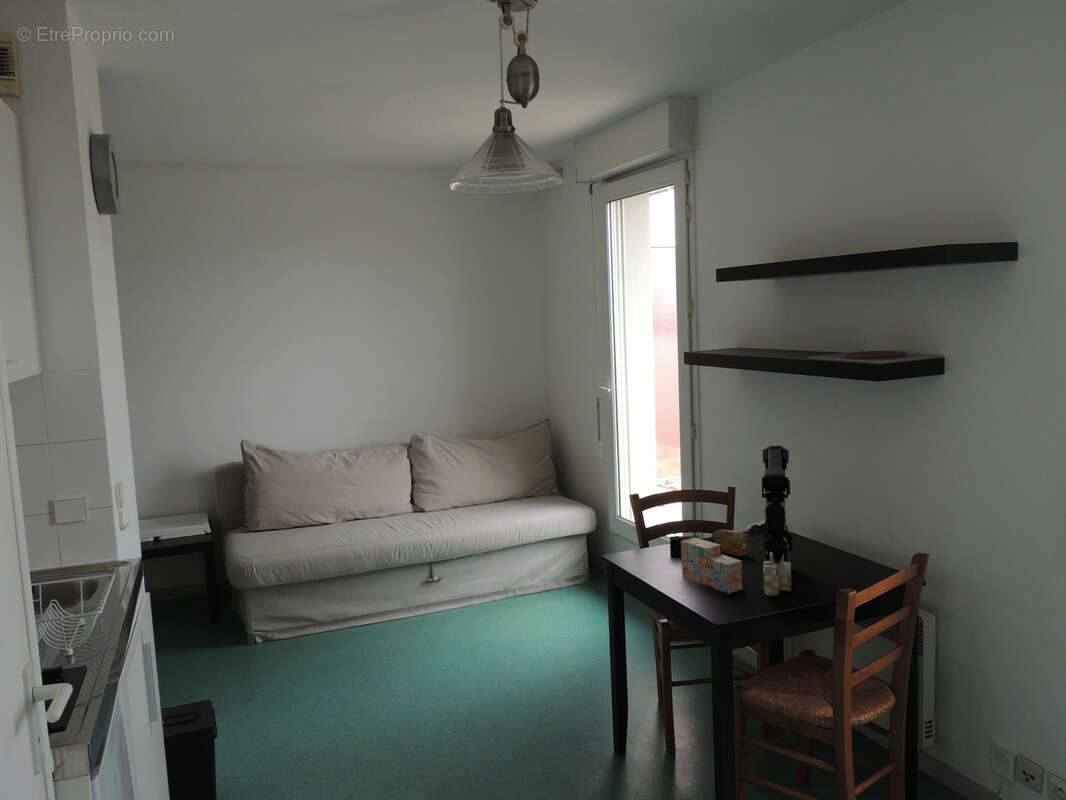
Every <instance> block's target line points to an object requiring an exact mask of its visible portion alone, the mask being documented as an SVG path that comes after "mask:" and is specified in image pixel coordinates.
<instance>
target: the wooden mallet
mask: <svg viewBox="0 0 1066 800" xmlns="http://www.w3.org/2000/svg"><path fill="white" fill-rule="evenodd" d="M765 581H767V583H775V581H776V565H765Z"/></svg>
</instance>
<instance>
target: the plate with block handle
mask: <svg viewBox="0 0 1066 800" xmlns="http://www.w3.org/2000/svg"><path fill="white" fill-rule="evenodd" d="M765 562H766V563H775V562H774V558H773V554H772V552H770V561H766V560H765V561H763V565H764V564H765ZM791 564H792V562H791V561H788V562H784V553H783V556H782V558H781V561H780V563H779V565H778V567H779V575H791V576H792V570H791V569H792V568H791V567H792V565H791ZM762 569H763V571H762V574H764V567H763V568H762Z"/></svg>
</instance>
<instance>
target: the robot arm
mask: <svg viewBox="0 0 1066 800" xmlns="http://www.w3.org/2000/svg"><path fill="white" fill-rule="evenodd" d="M789 458H790V456H789V449H786V448H784V446H781V445H769V446H767V447H766V448H765V449H763V450H762V464H764V468H765V470H764V471H763V473H764V475H763V476H762V477H761V498H762V499H765V509H764V514H765V517H764V519H763V520H760V521H756V522H754V523H750V524H749V525H747V527H746V528H747V529H746V530H747V531H748V534H749V536H750V538H751V539H754V538H756V537H757V536H761V535H763V544H764V546H763V547H764V552H765V551H766V553H765V557H766V558H765V561H770V552H772V554H773V558H774V562H775V563H778V565H779V563H780V561H781V558H782V556H783V553H784V562H789V554H788V553H789V552H792V551H793V550H794V537H793V536H792V534H791V532H789V526H788V525H787V524H786V523H787V521H786V519H787V518H786V499H789V495H790V496H791V480H789V477H788V476H786V472H787V470H788V464H790V459H789Z"/></svg>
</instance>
